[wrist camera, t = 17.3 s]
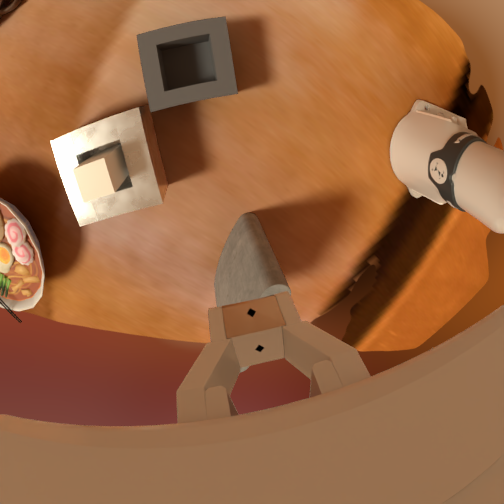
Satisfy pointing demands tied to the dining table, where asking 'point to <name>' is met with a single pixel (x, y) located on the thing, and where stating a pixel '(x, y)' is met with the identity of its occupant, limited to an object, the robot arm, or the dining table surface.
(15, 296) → the ramen bowl
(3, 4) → the dish
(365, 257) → the dining table surface
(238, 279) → the hip flask
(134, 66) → the dining table surface
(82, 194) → the plug
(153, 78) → the grey square socket block
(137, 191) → the port box
